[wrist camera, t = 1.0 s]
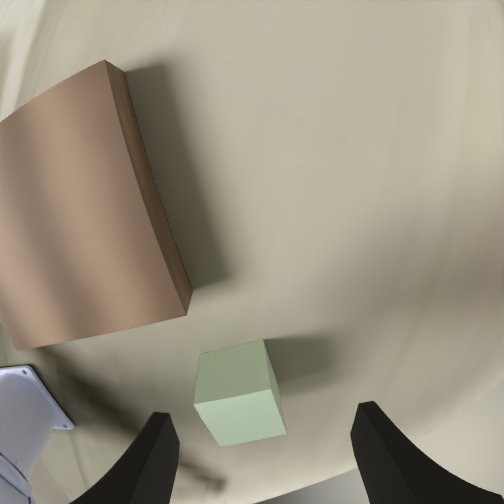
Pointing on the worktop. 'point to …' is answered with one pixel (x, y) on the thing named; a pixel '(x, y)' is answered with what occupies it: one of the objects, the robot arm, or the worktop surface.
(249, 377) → the sage block
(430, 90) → the worktop surface
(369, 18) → the worktop surface
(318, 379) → the worktop surface
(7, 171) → the walnut base
